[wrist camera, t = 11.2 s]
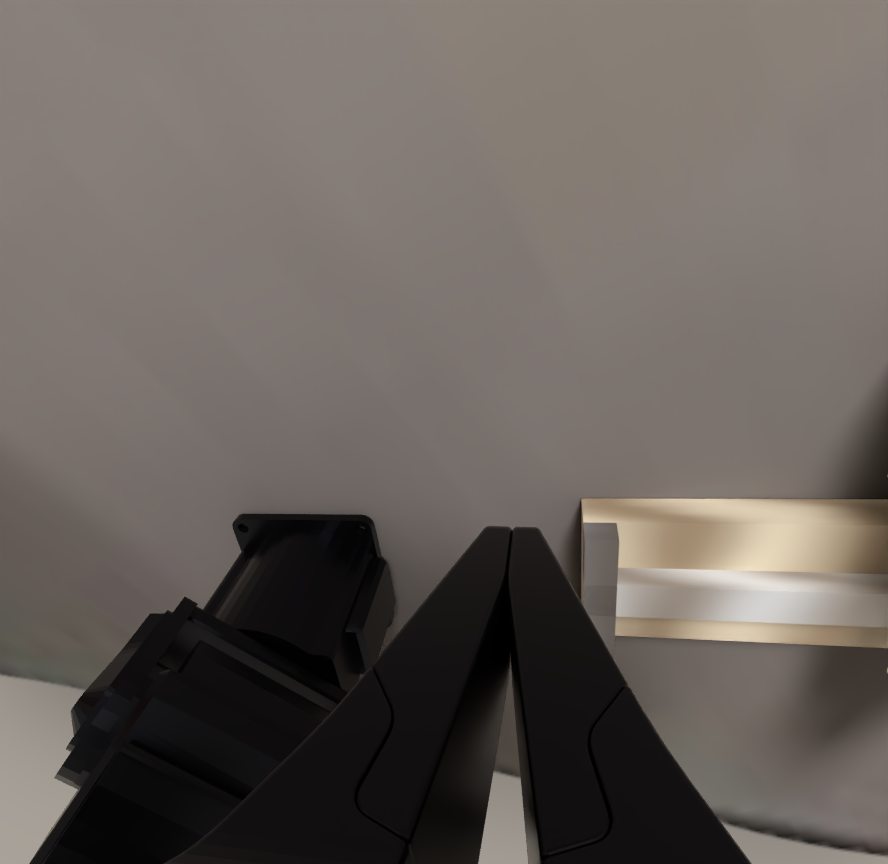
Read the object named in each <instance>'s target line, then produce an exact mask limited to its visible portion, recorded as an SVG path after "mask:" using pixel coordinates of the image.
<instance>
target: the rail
mask: <svg viewBox="0 0 888 864" xmlns="http://www.w3.org/2000/svg"><path fill="white" fill-rule="evenodd" d="M581 602H582V604H583V606H584V608H585V609H586V611H587V613H588V615H589V616H590V618H591V620H592V622H593V623H594V625H595V627H596V629H597V630H598V632H599V634H600V636H601V637H602V639H603V641H604V643H605V644H606V646H607V648H608V650H609V651H610V653H611V655H614V646H615V635H616V636H637V637H659V638H680V639H702V640H723V641H745V642H766V643H788V644H810V645H831V646H853V647H874V648H888V499H582V498H581Z"/></svg>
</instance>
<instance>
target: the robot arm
mask: <svg viewBox="0 0 888 864" xmlns="http://www.w3.org/2000/svg"><path fill="white" fill-rule="evenodd" d="M243 524H245V525H246V526H247V527H246V526H244V525H243ZM358 525H361V526H363V527H365V529H363V528H360V527H359V526H358ZM233 530H234V532H235V535H236V538H237V541H238V543H239V546H240V549H241V551H242V552H241V554H240V555H239V557H238V558H237V560H236V561H235V563H234V564H233V566H232V567H231V569H230V570H229V572H228V573H227V575H226V576H225V578H224V579H223V581H222V582H221V583H220V585H219V586H218V588H217V589H216V591H215V592H214V594H213V595H212V597H211V598H210V600H209V601H208V603H207V604H206V606H205V607H204V609H203V610H202V609H200V608H199V607H197V603H195V602H193V601H192V600H190V599H188V598H186V597H184V598H183V600H182V601H181V602H180V604H179V605H178V606H177V608H176V609H175V610H174V612H173V613H172V612H170V611H168V610H167V611H166V613H165V614H149V616H148V617H147V618H146V620H145V621H144V622H143V623H142V625H141V626H140V627H139V629H138V630H137V631H136V633H135V634H134V635H133V636H132V638H131V639H130V640H129V642H128V643H127V644H126V645H125V647H124V648H123V649H122V650H121V652H120V653H119V654H118V655H117V656H116V657H115V658H114V660H113V661H112V662H111V663H110V664H109V665H108V666H107V667H106V669H105V670H104V671H103V672H102V673H101V674H100V675H99V676H98V677H97V679H96V680H95V681H94V682H93V683H92V684H91V685H90V686H89V688H88V689H87V690H86V691H85V692H84V693H83V695H82V696H81V697H80V698H79V700H78V701H77V703H76V704H75V705H74V707H73V708H72V710H71V716H72V725H73V731H74V732H73V733H74V737H73V738H72V740H71V742H70V743H69V744H68V746H67V748H66V750H68V751H71V753H70V755H69V756H68V758H67V759H66V761H65V762H64V764H63V765H62V767H61V768H60V770H59V771H58V773H57V774H56V776H55V779H58V780H60V781H62V782H64V783H66V784H68V785H70V786H72V787H74V788H77V789H78V791H77V792H76V794H75V795H74V796H73V798H72V799H71V801H70V802H69V804H68V805H67V807H66V808H65V810H64V811H63V813H62V814H61V816H60V817H59V819H58V820H57V822H56V823H55V824H54V826H53V827H52V829H51V830H50V832H49V834H48V835H47V837H46V838H45V840H44V841H43V843H42V844H41V846H40V848H39V849H38V851H37V853H36V854H35V856H34V857H33V859H32V860H31V862H30V864H478V861H479V854H480V849H481V843H482V837H483V831H484V824H485V819H486V812H487V807H488V801H489V794H490V788H491V782H492V776H493V770H494V764H495V758H496V752H497V746H498V740H499V734H500V728H501V722H502V716H503V710H504V704H505V698H506V692H507V686H508V679H509V672H510V662H511V668H512V684H513V696H514V707H515V718H516V729H517V741H518V752H519V763H520V774H521V785H522V796H523V808H524V820H525V831H526V842H527V852H528V864H751V862H750V861H749V860H748V858H747V857H746V856H745V854H744V853H743V851H742V850H741V849H740V847H739V846H738V845H737V843H736V842H735V841H734V840H733V838H732V837H731V835H730V834H729V833H728V831H727V830H726V829H725V827H724V826H723V824H722V823H721V822H720V820H719V819H718V818H717V816H716V815H715V814H714V812H713V811H712V810H711V808H710V807H709V806H708V804H707V803H706V802H705V800H704V799H703V798H702V796H701V795H700V793H699V792H698V791H697V789H696V788H695V787H694V785H693V784H692V783H691V781H690V780H689V778H688V777H687V775H686V774H685V773H684V771H683V770H682V768H681V767H680V766H679V764H678V763H677V761H676V760H675V758H674V757H673V756H672V754H671V753H670V751H669V750H668V748H667V747H666V746H665V744H664V742H663V741H662V739H661V738H660V736H659V734H658V733H657V731H656V729H655V728H654V726H653V725H652V723H651V721H650V720H649V718H648V717H647V715H646V713H645V712H644V710H643V708H642V707H641V705H640V703H639V701H638V700H637V698H636V696H635V694H634V693H633V691H632V689H631V688H630V687H628V683H627V681H626V679H625V677H624V676H623V674H622V672H621V670H620V669H619V667H618V665H617V663H616V662H615V660H614V658H613V657H612V655H611V653H610V651H609V650H608V648H607V646H606V644H605V643H604V641H603V639H602V637H601V636H600V634H599V632H598V630H597V629H596V627H595V625H594V623H593V622H592V620H591V618H590V616H589V615H588V613H587V611H586V609H585V608H584V606H583V604H582V602H581V601H580V599H579V597H578V595H577V594H576V592H575V590H574V588H573V587H572V585H571V583H570V582H569V580H568V578H567V576H566V575H565V573H564V571H563V569H562V568H561V566H560V564H559V562H558V561H557V559H556V557H555V555H554V554H553V552H552V550H551V548H550V547H549V545H548V543H547V541H546V540H545V538H544V536H543V534H542V533H541V531H540V530H539V529H538V528H536V527H515V528H514V529H513V530H511V528H510V527H504V526H488V527H486V528H484V530H483V531H482V532H481V533H480V534H479V536H478V537H477V538H476V539H475V541H474V542H473V543H472V544H471V545H470V547H469V548H468V549H467V550H466V551H465V553H464V554H463V555H462V556H461V558H460V559H459V560H458V561H457V562H456V564H455V565H454V566H453V567H452V568H451V570H450V571H449V572H448V573H447V575H446V576H445V577H444V578H443V579H442V581H441V582H440V583H439V584H438V585H437V587H436V588H435V589H434V590H433V592H432V593H431V594H430V595H429V596H428V598H427V599H426V600H425V601H424V602H423V604H422V605H421V606H420V607H419V609H418V610H417V611H416V612H415V613H414V615H413V616H412V617H411V618H410V620H409V621H408V622H407V623H406V624H405V626H404V627H403V628H402V629H401V630H400V632H399V633H398V634H397V635H396V637H395V638H394V639H393V640H392V641H391V643H390V644H389V645H388V646H387V647H386V649H385V650H384V651H383V652H382V654H381V655H380V656H379V653H380V650H381V646H382V643H383V640H384V637H385V633H386V630H387V627H389V626H390V625H391V624H392V621H393V617H394V614H393V607H394V604H395V597H394V592H393V587H392V583H391V578H390V573H389V568H388V564H387V561H386V560H385V559H384V558H383V557H381V554H380V549H379V545H378V540H377V535H376V531H375V526H374V523H373V521H372V520H371V519H370V518H369V517H367V516H365V515H325V514H240V515H239V516H238V517H237V518H236V519H235V521H234V522H233ZM378 656H379V657H378ZM360 676H362V677H361V679H360V680H359V678H360Z"/></svg>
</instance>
